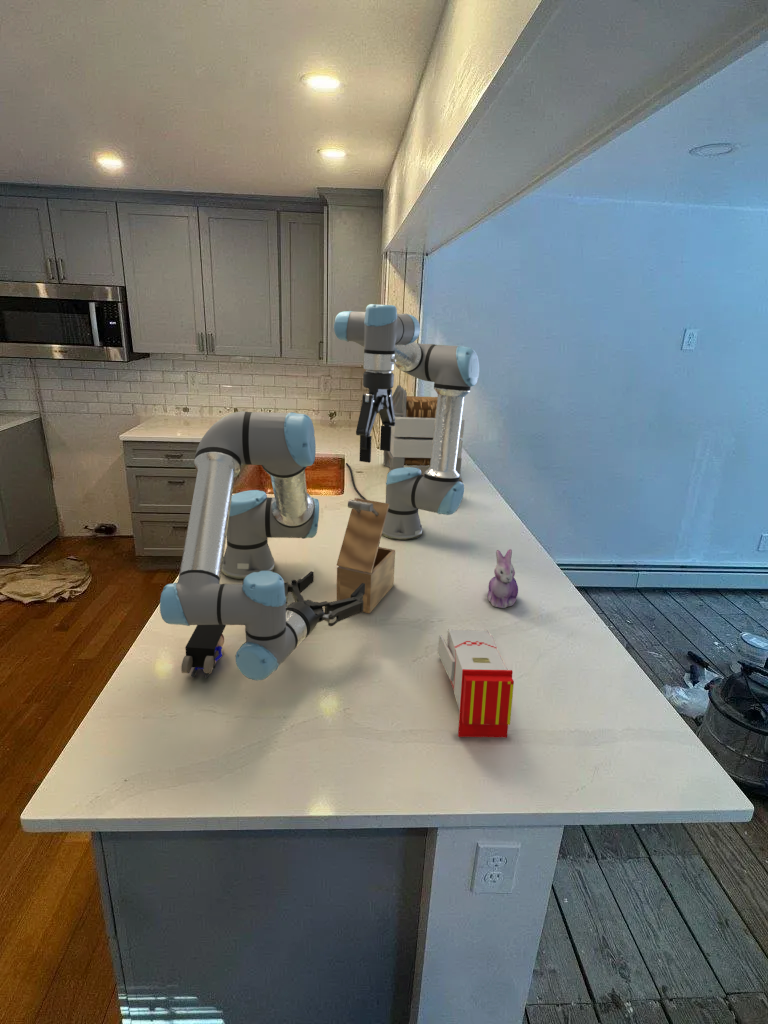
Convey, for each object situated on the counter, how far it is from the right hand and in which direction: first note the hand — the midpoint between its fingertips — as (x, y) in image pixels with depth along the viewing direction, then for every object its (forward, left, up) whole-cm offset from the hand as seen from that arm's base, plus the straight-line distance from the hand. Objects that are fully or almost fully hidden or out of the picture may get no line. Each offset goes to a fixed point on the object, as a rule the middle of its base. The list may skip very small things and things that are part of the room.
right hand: (375, 455), depth 146 cm
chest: (+2, -3, -39) cm, 39 cm away
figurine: (+26, +26, -39) cm, 53 cm away
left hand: (+10, -19, -26) cm, 34 cm away
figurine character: (+5, -50, -39) cm, 64 cm away
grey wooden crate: (-79, +96, -39) cm, 130 cm away
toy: (+47, -12, -39) cm, 62 cm away
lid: (+3, -5, -20) cm, 21 cm away
